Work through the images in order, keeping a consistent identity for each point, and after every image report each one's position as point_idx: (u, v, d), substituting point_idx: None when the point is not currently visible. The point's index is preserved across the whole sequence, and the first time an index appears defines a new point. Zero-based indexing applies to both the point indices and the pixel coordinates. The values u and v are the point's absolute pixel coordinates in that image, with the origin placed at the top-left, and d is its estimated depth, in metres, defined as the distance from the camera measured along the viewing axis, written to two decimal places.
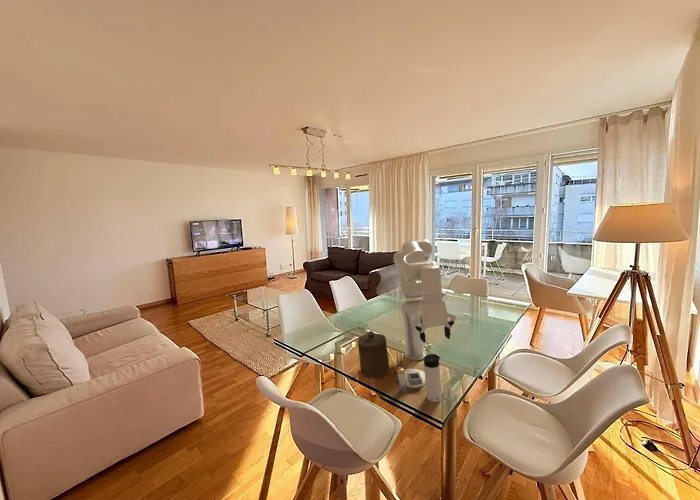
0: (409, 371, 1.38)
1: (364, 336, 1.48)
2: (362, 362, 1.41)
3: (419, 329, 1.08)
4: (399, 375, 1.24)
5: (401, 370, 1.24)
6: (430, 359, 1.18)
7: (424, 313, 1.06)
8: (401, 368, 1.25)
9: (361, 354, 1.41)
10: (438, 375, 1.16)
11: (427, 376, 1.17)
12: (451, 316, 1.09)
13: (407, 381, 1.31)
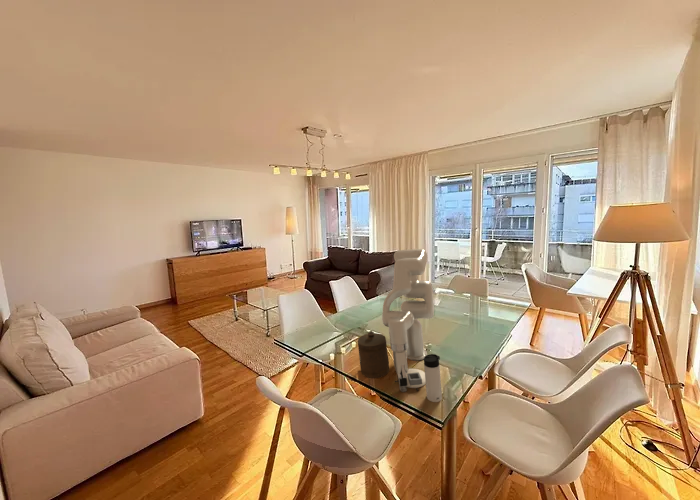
0: (409, 371, 1.38)
1: (364, 336, 1.48)
2: (362, 362, 1.41)
3: (405, 377, 1.23)
4: None
5: None
6: (430, 359, 1.18)
7: (406, 360, 1.21)
8: None
9: (361, 354, 1.41)
10: (438, 375, 1.16)
11: (427, 376, 1.17)
12: None
13: (407, 381, 1.31)
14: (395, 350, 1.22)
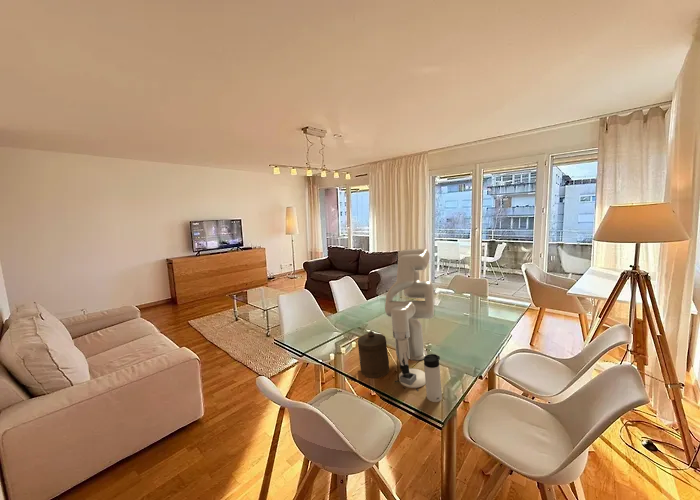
0: (415, 371, 1.38)
1: (364, 336, 1.48)
2: (362, 362, 1.41)
3: (407, 364, 1.27)
4: (400, 361, 1.30)
5: None
6: (430, 359, 1.18)
7: (408, 347, 1.26)
8: None
9: (361, 354, 1.41)
10: (438, 375, 1.16)
11: (427, 376, 1.17)
12: None
13: None
14: (397, 338, 1.27)
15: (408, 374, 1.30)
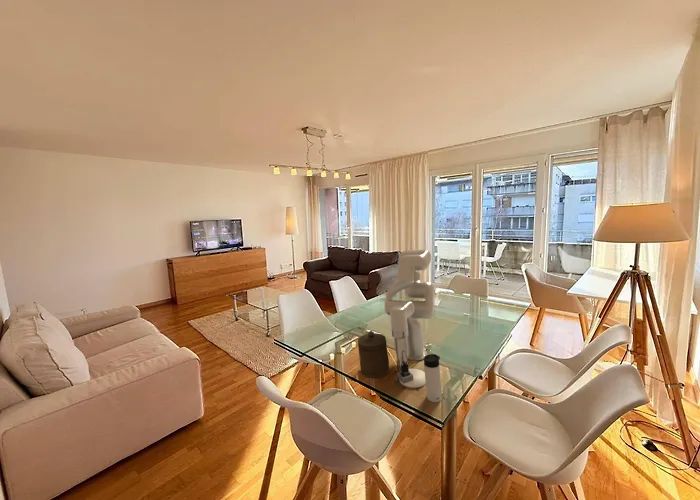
0: (419, 373, 1.36)
1: (364, 336, 1.48)
2: (362, 362, 1.41)
3: (406, 363, 1.28)
4: (399, 359, 1.33)
5: None
6: (430, 359, 1.18)
7: (407, 346, 1.28)
8: None
9: (361, 354, 1.41)
10: (438, 375, 1.16)
11: (427, 376, 1.17)
12: None
13: None
14: (396, 337, 1.29)
15: (406, 373, 1.32)
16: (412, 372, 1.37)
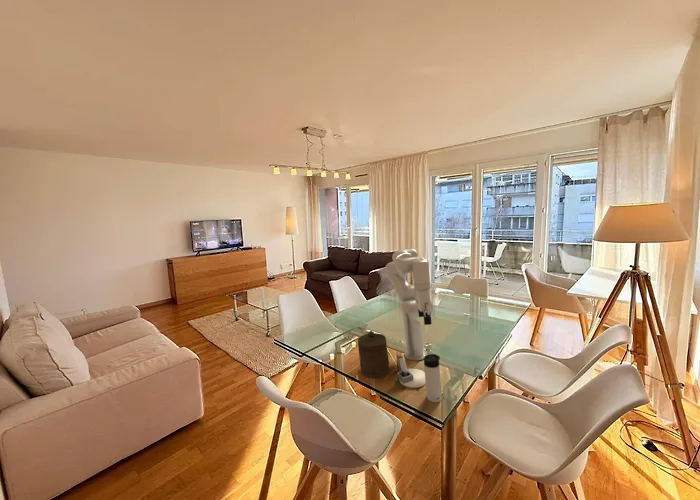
0: (419, 373, 1.36)
1: (364, 336, 1.48)
2: (362, 362, 1.41)
3: None
4: (399, 359, 1.33)
5: (400, 354, 1.34)
6: (430, 359, 1.18)
7: (429, 298, 1.29)
8: (401, 353, 1.35)
9: (361, 354, 1.41)
10: (438, 375, 1.16)
11: (427, 376, 1.17)
12: None
13: None
14: (419, 289, 1.29)
15: (406, 373, 1.32)
16: (412, 372, 1.37)
